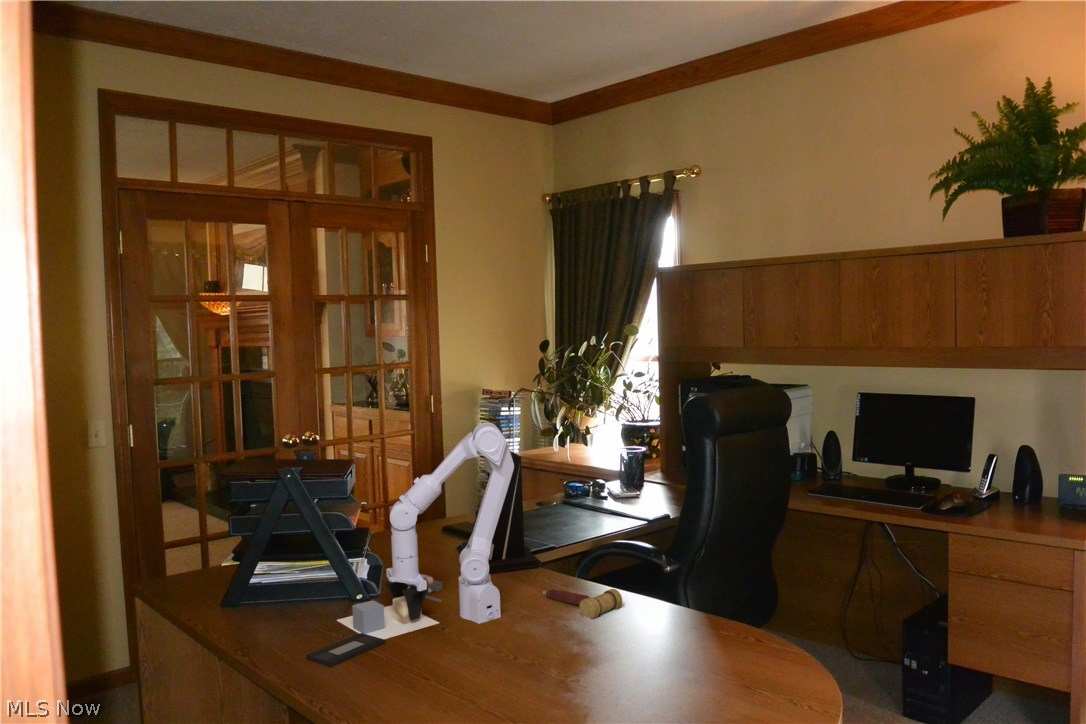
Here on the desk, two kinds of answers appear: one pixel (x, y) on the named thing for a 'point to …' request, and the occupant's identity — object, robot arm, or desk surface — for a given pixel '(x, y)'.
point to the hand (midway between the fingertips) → (407, 615)
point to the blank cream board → (392, 625)
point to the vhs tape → (345, 649)
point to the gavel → (588, 601)
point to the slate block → (368, 617)
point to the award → (509, 528)
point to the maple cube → (402, 611)
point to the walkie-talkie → (432, 586)
